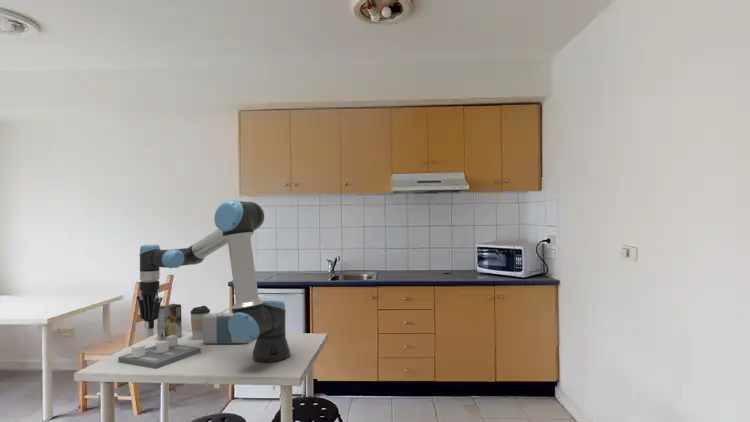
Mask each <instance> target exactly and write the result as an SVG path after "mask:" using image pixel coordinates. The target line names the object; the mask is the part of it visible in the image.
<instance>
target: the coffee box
mask: <svg viewBox="0 0 750 422" xmlns="http://www.w3.org/2000/svg"><path fill="white" fill-rule="evenodd" d="M156 324H157V326H156V329H157V331H156V333H157V335H156V337H157V339H156V340H159V341H166V337H168V336H171V335H176V336H177V339H178V338H182V337H183V334H182V332H183V331H182V329H183V328H182V304H179V303H171V304H166V305H165V304H163V305H160V310H159V315H158V319H156Z"/></svg>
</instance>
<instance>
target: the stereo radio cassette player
mask: <svg viewBox="0 0 750 422" xmlns="http://www.w3.org/2000/svg"><path fill="white" fill-rule="evenodd" d="M233 306H234V305H232V306H230V307H228V308H227V309H225V310H223V311H220V312H210V313H209V314H207V315H205V316H203V318H202V338H203V339H202V343H204V344H206V345H209V344H211V345H212V344H214V345H216V344H217V345H218V344H220V345H221V344H223V345H224V344H243V345H244V344H245V345H246V344H247V342H245V343H244V342H239V341H237V340H236V339H235V338H233V337H232V335H231V334H230V332H229V328H228V322H229V320H230V317H231V316H232V315H233V312H226V311H229V310H230V309H232V307H233Z"/></svg>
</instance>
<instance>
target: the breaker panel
mask: <svg viewBox="0 0 750 422" xmlns="http://www.w3.org/2000/svg"><path fill="white" fill-rule="evenodd" d="M201 349H202V348H201V347H198V346H190V345H183V344H178V345H175V346H172V347H169V351H167V352H164V353H157V352H156V345H154V346H150V347H147V348H146V347H145V355H144V356H141V357H138V358H135V357H132V352H131V353H127V354H124V355H121V356H118V357H117V359H118V363H122V364H126V365H133V366H138V367H145V368H151V369H154V370H155V369H159V368H162V367H165V366H168V365H170V364H173V363H176V362H179V361H182V360H185V359H187V358H190V357H192V356H196V355H198V354H201V352H202V350H201Z"/></svg>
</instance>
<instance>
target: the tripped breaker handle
mask: <svg viewBox="0 0 750 422" xmlns="http://www.w3.org/2000/svg"><path fill="white" fill-rule="evenodd" d="M155 344H156V345H155V346H156V352H157V353H164V352H167V351H169V341H161V340H159V341H158V342H156V343H155Z"/></svg>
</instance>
